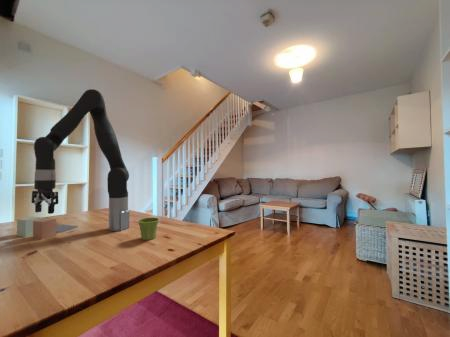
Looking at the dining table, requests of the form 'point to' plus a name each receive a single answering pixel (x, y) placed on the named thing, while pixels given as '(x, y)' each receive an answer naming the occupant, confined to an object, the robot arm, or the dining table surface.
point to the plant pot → (148, 228)
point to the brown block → (44, 228)
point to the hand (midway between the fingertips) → (44, 212)
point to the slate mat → (64, 228)
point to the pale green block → (25, 226)
